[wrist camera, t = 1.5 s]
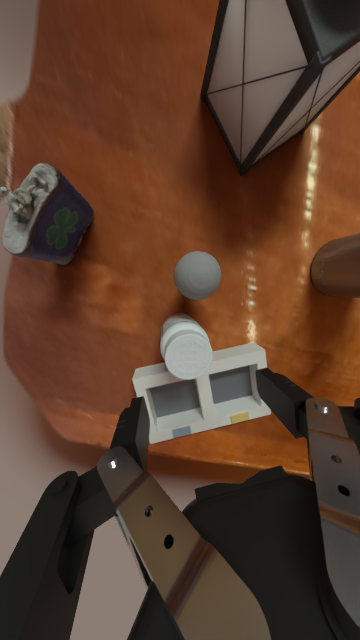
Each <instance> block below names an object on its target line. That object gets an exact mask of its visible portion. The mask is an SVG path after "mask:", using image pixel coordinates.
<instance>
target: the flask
mask: <svg viewBox="0 0 360 640" xmlns="http://www.w3.org/2000/svg"><path fill="white" fill-rule="evenodd" d="M5 191H7V190H6V188H5V187H1V188H0V196H3V194H4V192H5ZM0 201H1V199H0ZM4 202H5V204H7V205H8V206H9V207H10V209H9V212H8V214H7V217H6V222H5V226H4V229H3V236H2V245H3V246H4V247H5V249H6V250H7V251H8V252H9V253H11V254H13V255H15V256H19V257H28V258H33V259H39V260H43V261H47V262H53V263H57V264H61V265H66V264H68V263H69V262H70V261H71V260H72V259H73V258H74V252H75V250H76V249H77V247H79V245H80V244H81V241H82V235H83V233H86V228H87V226H89V225H90V223H91V221H92V219H93V218H94V212H93V208H91V206H90V205H89V203H88V202H87V201H86V200H85V199H84V198H83V197H82V196H81V194H80V193H79V192H78V191H77V190H76V189H75V188H74V187H73V186H72V185H71V184H70V182H69V181H68V180H67V179H66V178H65V177H64V176H63V175H62V173H61V172H60V171H59V170H58V169H57V168H55V167H53V166H52V165H49V164H46V163H39V164H37V165H35V166H34V168H33V169H32V170H31V172H30V174H29V175H28V176H27V177H26V178H25V179H24V181H23V182H22V184H21V185H20V187H19V188H18V189H17V190H14V192H13V194H12V192H9V193H8V194H7V196H5V200H4Z"/></svg>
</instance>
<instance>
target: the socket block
mask: <svg viewBox="0 0 360 640" xmlns="http://www.w3.org/2000/svg"><path fill="white" fill-rule="evenodd" d="M263 368H267V364H266V353H265V349H263V348H262V347H260V346H258V345H257V344H255V343H249V344H245V345H240V346H236V347H231V348H227V349H222V350H218V351H213V360H212V364H211V366H210V368H209V369H208V370H207V372H206V373H204V374H203V375H202V376H200V377H198V378H196V379H191V380H184V379H180V378H177V377H176V376H174V375H173V374H172V373H171V372H170V371H169V370H168V368H167V367H166V364H165V362H164V363H159V364H155V365H150V366H146V367H141V368H137V369H136V370H135V373H134V376H133V379H132V380H133V384H134V387H135V391H136V395H137V397H142V396H144V399H145V402H146V406H147V410H148V414H149V419H150V431H149V441H150V444H153V443H157V442H161V441H165V440H169V439H173V438H177V437H181V436H185V435H189V434H193V433H197V432H201V431H205V430H209V429H213V428H217V427H221V426H225V425H229V424H234V423H238V422H242V421H246V420H250V419H254V418H258V417H262V416H266V415H270V414H271V409H270V408H269V407H268V406H267V405H266V404H265V403H264V401H263V400H262V399H261V398H260V396H259V394H258V391H257V383H256V374H255V372H256V370H258V369H263Z"/></svg>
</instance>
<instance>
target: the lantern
mask: <svg viewBox="0 0 360 640" xmlns="http://www.w3.org/2000/svg"><path fill="white" fill-rule="evenodd" d="M359 72H360V0H220V1H219V6H218V11H217V16H216V21H215V26H214V31H213V35H212V40H211V45H210V50H209V55H208V60H207V65H206V70H205V75H204V80H203V85H202V90H201V94H200V95H201V97H202V99H203V101H205V102H206V104H207V106H208V108H209V110H210V112H211V114H212V116H213V118H214V120H215V122H216V124H217V126H218V128H219V130H220V132H221V134H222V136H223V138H224V140H225V142H226V144H227V146H228V148H229V150H230V152H231V155H232V157H233V159H234V161H235V163H236V165H237V167H238V172H239V174H240V176H242V175H243V174H244V173H246V172H247V171H248V170H249V169H250V168H251V167H252V166H253V165H255V164H256V163H258V162H259V161H260V160H262V159H263V158H265V157H266V156H267V155H269V154H270V153H272V152H273V151H274V150H276V149H277V148H279V147H280V146H281V145H283V144H284V143H286V142H287V141H289V140H290V139H291V138H293V137H294V136H296V135H297V134H298V133H299V134H301V133H302V132H303V131H305V130H306V129H307V128H308V126H309V125H310V124H311V123H312V122H313V121H314V120H315V119H316V118H317V117H318V116H319V115H320V114H321V112H322V111H323V110H324V109H325V108H326V107H327V106H328V105H329V104H330V103H331V102H332V101H333V100H334V99H335V97H336V96H337V95H338V94H339V93H340V92H341V91H342V90H343V89H344V88H345V87H346V86H347V85H348V83H349V82H350V81H351V80H352V79H353V78H354V77H355V76H356V75H357V74H358V73H359Z"/></svg>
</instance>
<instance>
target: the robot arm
mask: <svg viewBox="0 0 360 640" xmlns="http://www.w3.org/2000/svg"><path fill="white" fill-rule="evenodd" d="M311 277H312V281H313V284H314V286H315V287H316V289H317V290H318V291H319V292H321V293H323V294H325V295H329V296H344V297H357V298H360V233H359V234H355V235H351V236H347V237H343V238H339V239H335V240H332V241H330V242H328V243H327V244H325V245H324V246H323V247H322V248H321V249H320V250H319V251H318V253H317V254H316V256H315V258H314V260H313V263H312V267H311ZM255 374H256V383H257V391H258V394H259V396H260V398H261V399H262V400H263V401H264V403H265V404H266V405H267V406H268V407H269V408H270V409H271V411H272V412H273V413H274V414H275V415H276V416H277V417H278V419H279V420H280V421H281V422H282V423H283V424H284V425H285V426H286V428H287V429H288V430H289V431H290V432H291V433H292V434H293V436H294V437H295V438H296V439H297V438H300V437H305V438H306V439H307V450H308V461H309V471H310V480H309V479H307V478H304V477H301V476H297V475H292V474H286V472H285V471H284V469H283V468H282V466H277V467H273V468H270V469H266V470H263V471H260V472H258V473H257V474H255V475H254V476H252V477H251V478H249V479H248V480H246V481H245V482H244V483H242V484H229V483H228V484H227V483H215V484H212V485H208V486H204V487H201V488H197V489H195V493H196V499H195V500H193V501H192V502H191V503H190V504H188V505H187V506H186V508H185V509H184V510H183V511H182V512H181V511H180V510H179V508H178V507H177V506H176V505H175V504H174V502H173V501H172V500H171V499H170V497H169V496H168V495H167V494H166V492H165V491H164V490H163V489H162V488H161V487H160V485H159V484H158V483H157V481H156V480H155V479H154V478H153V476H152V475H151V474H150V473H149V472H148V471H146V470H147V457H148V444H149V431H150V419H149V414H148V410H147V406H146V402H145V399H144V396H142V397H137V398H133V399H132V401H131V405H130V407H129V408H125V409H124V411H123V412H122V413H121V415H120V417H119V420H118V424H117V427H116V430H115V433H114V437H113V440H112V443H111V446H110V449H109V450H108V451H107V452H106V453H104V455H103V456H102V457H101V458H100V460H99V462H98V465H97V466H96V467H95V468H93V469H92V470H90V471H88V472H86V473H84V474H82V475H81V476H79V477H78V474H77V473H76V472H75V471H68V472H65V473H63V474H61V475H60V476H58V477H57V478H55V479H54V480H53V481H52V482H51V483H50V484H49V485H48V487H47V488H46V489H45V491H44V493H43V495H42V497H41V499H40V500H39V502H38V504H37V506H36V508H35V510H34V512H33V514H32V516H31V518H30V520H29V522H28V524H27V526H26V528H25V530H24V532H23V533H22V535H21V537H20V539H19V541H18V543H17V545H16V547H15V549H14V551H13V553H12V555H11V557H10V559H9V561H8V563H7V564H6V567H5V568H4V570H3V572H2V574H1V576H0V640H69V639H70V635H71V631H72V626H73V622H74V617H75V613H76V609H77V604H78V600H79V595H80V591H81V586H82V582H83V578H84V573H85V569H86V565H87V560H88V555H89V551H90V547H91V542H92V538H93V534H94V529H95V528H97V527H98V526H100V525H101V524H103V523H104V522H106V521H107V520H109V519H110V518H112V517H113V516H114V517H115V518H116V521H117V523H118V525H119V527H120V529H121V531H122V533H123V535H124V538H125V540H126V542H127V544H128V546H129V549H130V551H131V552H132V555H133V557H134V560H135V562H136V565H137V567H138V569H139V571H140V574H141V576H142V578H143V581H144V583H145V585H146V587H147V589H148V590H147V592H146V595H145V597H144V600H143V602H142V604H141V607H140V609H139V612H138V614H137V617H136V619H135V622H134V624H133V627H132V629H131V631H130V634H129V636H128V639H127V640H360V398H357V399H356V400H355V404H354V407H343V406H337V405H336V404H334V403H333V402H331V401H329V400H326V399H323V398H316V397H312V396H311V395H310V394H308V393H307V392H306V391H304V390H303V389H301V388H300V387H299V386H297V385H296V384H295V383H293V382H292V381H291V380H289V379H288V378H287V377H285V376H283V375H281V374H278V373H273V372H272V371H271V370H270V369H268V368H263V369H258V370H256V372H255Z"/></svg>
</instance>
